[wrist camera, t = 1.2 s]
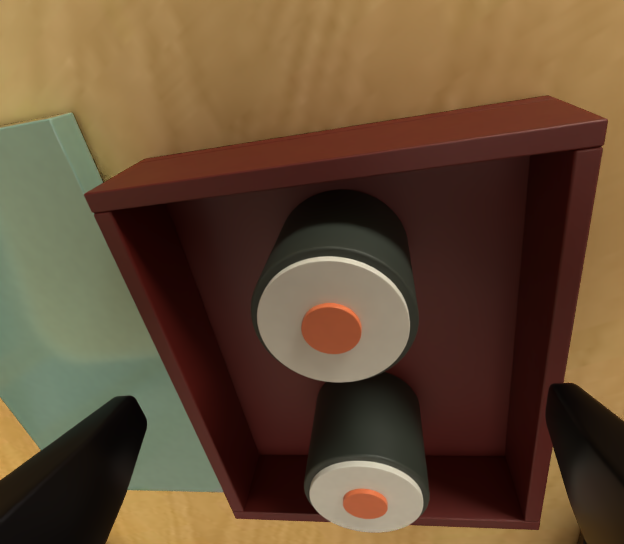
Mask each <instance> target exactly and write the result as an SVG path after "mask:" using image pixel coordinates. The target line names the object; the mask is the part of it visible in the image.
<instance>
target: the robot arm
mask: <svg viewBox="0 0 624 544" xmlns="http://www.w3.org/2000/svg"><path fill="white" fill-rule="evenodd" d="M545 418H546V424H547V428H548V431H549V434H550V438H551V441H552V444H553V448H554V451H555V455H556V458H557V461H558V465H559V468H560V471H561V475H562V478H563V481H564V485H565V488H566V491H567V495H568V498H569V501H570V504H571V507H572V509H573V512H574V514H575V517H576V519H577V522H578V524H579V527H580V529H581V533H580V537H579V541H578V544H624V421H623V420H621V419H620V418H619V417H618V416H616V415H615V414H614V413H612V412H611V411H610V410H609V409H607V408H606V407H605V406H603V405H602V404H601V403H600V402H598V401H597V400H596V399H594V398H593V397H592V396H591V395H589V394H588V393H587V392H585V391H584V390H583V389H582V388H580V387H579V386H578V385H576V384H573V383H554V384H551V385H550V387H549V390H548V397H547V404H546V411H545ZM146 430H147V419H146V416H145V414H144V413H143V411H142V409H141V407H140V405H139V403H138V402H137V400H136V398H135V397H133V396H131V395H127V396H116V397H114V398H112V399H111V400H109V401H108V402H107V403H105V404H104V405H103V406H101V407H100V408H98V409H97V410H96V411H94V412H93V413H92V414H90V415H89V416H88V417H86V418H85V419H83V420H82V421H81V422H79V423H78V424H77V425H75V426H74V427H73V428H71V429H70V430H68V431H67V432H66V433H64V434H63V435H62V436H60V437H59V438H58V439H56V440H55V441H53V442H52V443H51V444H49V445H48V446H47V447H45V448H44V449H43V450H41V451H40V452H38V453H37V454H36V455H34V456H33V457H32V458H30V459H29V460H27V461H26V462H25V463H23V464H22V465H21V466H19V467H18V468H17V469H15V470H14V471H12V472H11V473H10V474H8V475H7V476H6V477H4V478H3V479H2V480H0V544H105V543H106V541H107V539H108V536H109V534H110V531H111V529H112V527H113V524H114V522H115V520H116V517H117V515H118V512H119V510H120V508H121V505H122V503H123V500H124V498H125V495H126V492H127V489H128V487H129V484H130V481H131V477H132V474H133V471H134V468H135V465H136V462H137V458H138V455H139V452H140V449H141V446H142V443H143V439H144V436H145V433H146Z"/></svg>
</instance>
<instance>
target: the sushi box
mask: <svg viewBox="0 0 624 544" xmlns="http://www.w3.org/2000/svg"><path fill="white" fill-rule="evenodd" d="M607 124H608V120H607V119H606V118H603V117H601V116H598V115H596V114H594V113H591V112H589V111H586V110H584V109H581V108H579V107H576V106H574V105H571V104H569V103H566V102H564V101H561V100H559V99H556V98H553V97H551V96H541V97H535V98H528V99H522V100H516V101H509V102H503V103H497V104H490V105H484V106H478V107H471V108H465V109H459V110H452V111H446V112H440V113H433V114H427V115H421V116H414V117H408V118H401V119H395V120H389V121H382V122H376V123H370V124H363V125H357V126H351V127H344V128H338V129H332V130H325V131H319V132H313V133H306V134H300V135H294V136H287V137H281V138H274V139H268V140H262V141H255V142H249V143H243V144H236V145H230V146H224V147H217V148H211V149H205V150H198V151H192V152H186V153H179V154H173V155H167V156H160V157H154V158H147V159H144V160H142V161H140V162H138V163H137V164H135V165H133V166H131V167H129V168H128V169H126V170H124V171H123V172H121V173H119V174H117V175H116V176H114V177H112V178H111V179H109V180H107V181H105V182H104V183H102V184H100V185H98V186H97V187H95V188H93V189H92V190H90V191H88V192H86V193H85V194H84V197H85V199H86V201H87V203H88V205H89V207H90V210H91V212H92V213H94V217H95V220H96V222H97V224H98V226H99V228H100V230H101V232H102V234H103V237H104V239H105V241H106V243H107V245H108V247H109V249H110V251H111V254H112V256H113V258H114V260H115V262H116V264H117V266H118V268H119V271H120V273H121V275H122V277H123V279H124V281H125V283H126V285H127V288H128V290H129V292H130V294H131V296H132V298H133V300H134V302H135V305H136V307H137V309H138V311H139V313H140V315H141V317H142V319H143V322H144V324H145V326H146V328H147V330H148V332H149V334H150V336H151V339H152V341H153V343H154V345H155V347H156V349H157V351H158V353H159V356H160V358H161V360H162V362H163V364H164V366H165V368H166V370H167V373H168V375H169V377H170V379H171V381H172V383H173V385H174V387H175V390H176V392H177V394H178V396H179V398H180V400H181V402H182V404H183V407H184V409H185V411H186V413H187V415H188V417H189V419H190V422H191V424H192V426H193V428H194V430H195V432H196V434H197V436H198V439H199V441H200V443H201V445H202V447H203V449H204V451H205V453H206V456H207V458H208V460H209V462H210V464H211V466H212V468H213V470H214V473H215V475H216V477H217V479H218V481H219V483H220V485H221V487H222V490H223V492H224V494H225V496H226V498H227V500H228V502H229V504H230V507H231V509H232V511H233V513H234V515H235V518H236V519H261V520H288V521H314V522H330V521H329V520H327V519H326V518H324V517H323V516H322V515H320V514H319V513H318V512H317V511H316V509H315V508H314V507H313V506H312V505H311V504H310V502H309V501H308V499H307V497H306V495H305V491H304V478H305V472H306V466H307V459H308V453H309V446H310V440H311V434H312V427H313V421H314V414H315V408H316V401H317V396H318V393H319V391H320V389H321V388H322V386H323V385H324V384H325V383H326V381H320V380H315V379H312V378H309V377H306V376H303V375H301V374H299V373H296V372H294V371H292V370H291V369H289V368H287V367H286V366H284V365H283V364H281V363H280V362H278V361H277V360H276V359H275V358H274V357H273V356H272V355H271V354H270V353H269V352H268V351H267V350H266V349H265V348H264V346H263V345H262V343H261V342H260V340H259V338H258V337H257V335H256V332H255V330H254V327H253V323H252V319H251V299H252V295H253V291H254V289H255V286H256V284H257V282H258V280H259V277H260V275H261V273H262V271H263V269H264V267H265V264H266V262H267V260H268V258H269V256H270V253H271V251H272V249H273V247H274V245H275V243H276V240H277V238H278V236H279V234H280V232H281V229H282V227H283V225H284V223H285V221H286V219H287V218H288V216H289V215H290V213H291V212H292V211H293V210H294V209H295V208H296V207H297V206H298V205H299V204H300V203H302V202H303V201H305V200H306V199H308V198H310V197H312V196H314V195H316V194H319V193H322V192H326V191H331V190H353V191H358V192H362V193H365V194H368V195H370V196H372V197H375V198H377V199H378V200H380V201H381V202H383V203H385V204H386V205H387V206H388V207H389V208H390V209H391V210H392V211H393V212H394V213H395V214H396V215H397V217H398V218H399V220H400V221H401V223H402V225H403V227H404V229H405V232H406V235H407V239H408V246H409V252H410V259H411V265H412V272H413V279H414V285H415V292H416V298H417V305H418V312H419V325H418V331H417V334H416V337H415V340H414V342H413V344H412V346H411V347H410V349H409V351H408V352H407V353H406V355H405V356H404V357H403V358H402V359H401V360H400V361H399V362H398V363H397V364H396V365H394V366H393V367H391V368H390V369H388V370H387V371H385V372H386V373H389V374H391V375H394V376H396V377H398V378H399V379H401V380H403V381H404V382H405V383H407V384H408V385H409V386H410V387H411V389H412V390H413V391H414V392H415V394H416V396H417V398H418V401H419V406H420V415H421V423H422V432H423V441H424V449H425V458H426V466H427V475H428V484H429V492H430V500H429V504H428V507H427V508H426V510H425V511H424V513H423V514H422V515H421V516H420V517H418V518H417V519H416V520H415V521H414V522H413V523H411V524H410V525H421V526H448V527H475V528H502V529H528V530H539V526H540V518H541V512H542V506H543V501H544V495H545V489H546V483H547V477H548V471H549V465H550V459H551V453H552V447H553V444H552V441H551V438H550V434H549V431H548V428H547V424H546V418H545V411H546V404H547V397H548V390H549V387H550V385H551V384H554V383H563V382H564V376H565V370H566V364H567V358H568V352H569V347H570V341H571V335H572V329H573V323H574V317H575V311H576V305H577V299H578V293H579V287H580V281H581V275H582V269H583V264H584V258H585V252H586V246H587V240H588V234H589V228H590V222H591V216H592V210H593V204H594V198H595V192H596V187H597V181H598V175H599V169H600V163H601V157H602V151H603V148H602V147H601V146H603V145H604V141H605V135H606V129H607Z"/></svg>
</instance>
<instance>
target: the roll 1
mask: <svg viewBox="0 0 624 544" xmlns="http://www.w3.org/2000/svg"><path fill="white" fill-rule="evenodd" d="M251 319H252V323H253V327H254V330H255V332H256V335H257V337H258V338H259V340H260V342H261V343H262V345H263V346H264V348H265V349H266V350H267V351H268V352H269V353H270V354H271V355H272V356H273V357H274V358H275V359H276V360H277V361H278V362H280V363H281V364H283V365H284V366H286V367H287V368H289V369H291V370H292V371H294V372H296V373H299V374H301V375H303V376H306V377H309V378H312V379H315V380H320V381H326V382H354V381H359V380H364V379H368V378H371V377H374V376H376V375H379V374H381V373H383V372H385V371H387V370H388V369H390V368H391V367H393V366H394V365H396V364H397V363H398V362H399V361H400V360H401V359H402V358H403V357H404V356H405V355H406V353H407V352H408V351H409V349H410V347H411V346H412V344H413V342H414V340H415V337H416V334H417V331H418V325H419V312H418V305H417V298H416V292H415V285H414V279H413V272H412V265H411V259H410V252H409V246H408V239H407V235H406V232H405V229H404V227H403V225H402V223H401V221H400V220H399V218H398V217H397V215H396V214H395V213H394V212H393V211H392V210H391V209H390V208H389V207H388V206H387V205H386V204H385V203H383V202H381V201H380V200H378V199H377V198H375V197H372V196H370V195H368V194H365V193H362V192H358V191H353V190H331V191H326V192H322V193H319V194H316V195H314V196H312V197H310V198H308V199H306V200H305V201H303V202H302V203H300V204H299V205H298V206H297V207H296V208H295V209H294V210H293V211H292V212H291V213H290V215H289V216H288V218H287V219H286V221H285V223H284V225H283V227H282V229H281V232H280V234H279V236H278V238H277V240H276V243H275V245H274V247H273V249H272V251H271V253H270V256H269V258H268V260H267V262H266V264H265V267H264V269H263V271H262V273H261V275H260V277H259V280H258V282H257V284H256V286H255V289H254V291H253V295H252V299H251Z"/></svg>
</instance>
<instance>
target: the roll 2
mask: <svg viewBox="0 0 624 544" xmlns="http://www.w3.org/2000/svg"><path fill="white" fill-rule="evenodd" d="M304 491H305V495H306V497H307V499H308V501H309V502H310V504H311V505H312V506H313V507H314V508H315V509H316V511H317V512H318V513H319V514H320V515H322V516H323V517H324V518H326V519H327V520H329V521H330V522H332V523H334V524H336V525H339V526H341V527H344V528H347V529H351V530H356V531H362V532H388V531H394V530H398V529H401V528H404V527H406V526H408V525H410V524H411V523H413V522H414V521H415V520H416V519H417V518H418V517H420V516H421V515H422V514H423V513H424V511H425V510H426V508H427V507H428V504H429V500H430V492H429V484H428V475H427V466H426V458H425V449H424V441H423V432H422V423H421V415H420V406H419V401H418V398H417V396H416V394H415V392H414V391H413V390H412V389H411V387H410V386H409V385H408V384H407V383H405V382H404V381H403V380H401V379H399V378H398V377H396V376H394V375H391V374H389V373H386V372H383V373H381V374H379V375H376V376H374V377H371V378H368V379H364V380H359V381H354V382H326V383H325V384H324V385H323V386H322V388H321V389H320V391H319V393H318V396H317V401H316V408H315V414H314V421H313V427H312V434H311V440H310V446H309V453H308V459H307V466H306V472H305V478H304Z"/></svg>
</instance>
